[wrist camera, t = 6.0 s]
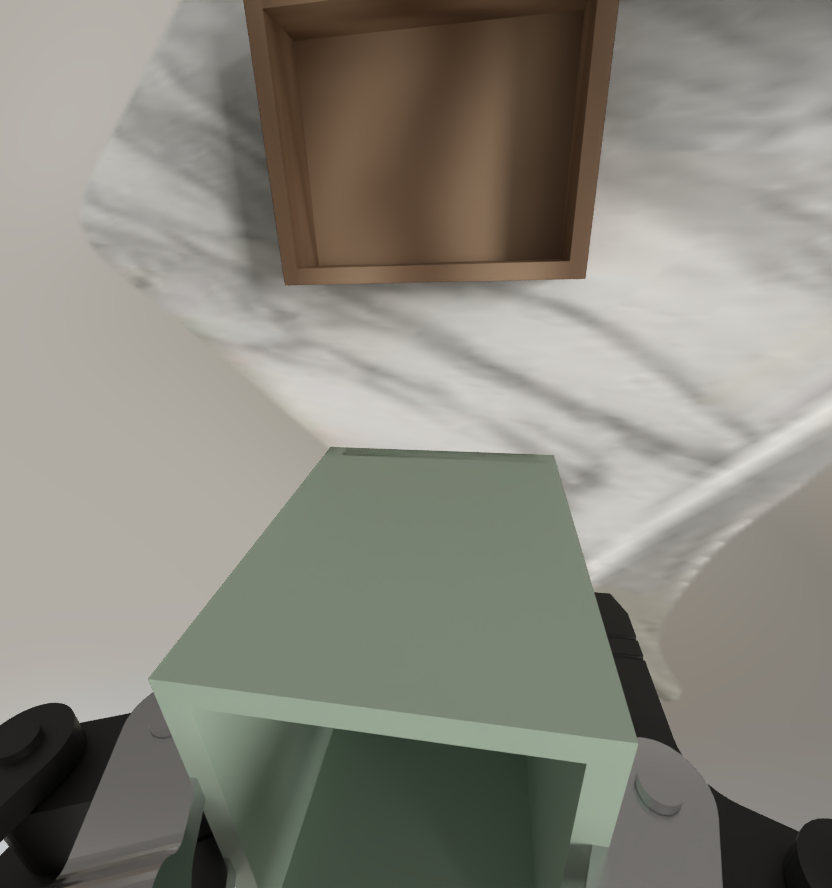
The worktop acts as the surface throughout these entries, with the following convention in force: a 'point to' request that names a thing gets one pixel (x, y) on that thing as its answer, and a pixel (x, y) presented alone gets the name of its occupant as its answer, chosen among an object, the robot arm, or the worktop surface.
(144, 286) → the worktop surface
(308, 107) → the big crate
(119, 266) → the worktop surface
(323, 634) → the small crate
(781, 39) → the worktop surface
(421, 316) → the worktop surface
